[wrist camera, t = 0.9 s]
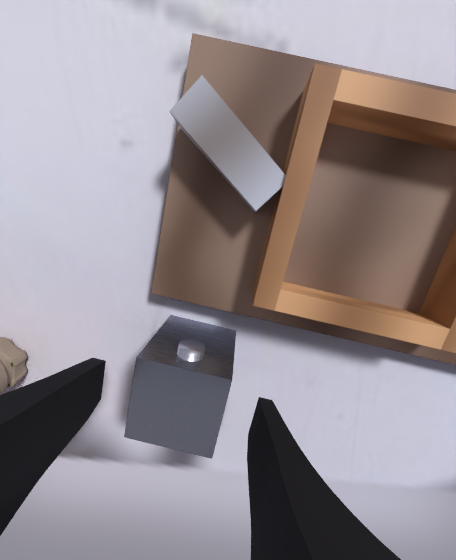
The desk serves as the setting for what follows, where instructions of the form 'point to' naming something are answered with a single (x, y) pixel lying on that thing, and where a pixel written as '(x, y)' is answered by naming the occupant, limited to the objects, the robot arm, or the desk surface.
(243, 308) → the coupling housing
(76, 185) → the desk surface
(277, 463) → the robot arm
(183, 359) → the block
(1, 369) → the handle
